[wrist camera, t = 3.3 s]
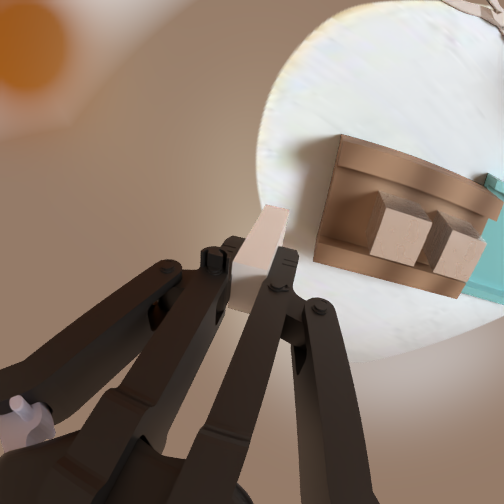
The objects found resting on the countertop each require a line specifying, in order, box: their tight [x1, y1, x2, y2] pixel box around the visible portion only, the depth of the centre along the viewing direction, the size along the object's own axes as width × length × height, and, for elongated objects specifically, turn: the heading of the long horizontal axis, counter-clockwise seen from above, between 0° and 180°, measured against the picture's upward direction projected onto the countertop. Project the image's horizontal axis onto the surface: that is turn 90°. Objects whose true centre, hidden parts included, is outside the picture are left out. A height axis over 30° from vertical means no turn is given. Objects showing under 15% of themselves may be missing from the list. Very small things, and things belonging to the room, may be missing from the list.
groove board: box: [313, 134, 504, 299], centre depth 23 cm, size 16×11×4 cm
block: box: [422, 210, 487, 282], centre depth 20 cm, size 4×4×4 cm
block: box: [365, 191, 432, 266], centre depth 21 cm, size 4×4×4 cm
